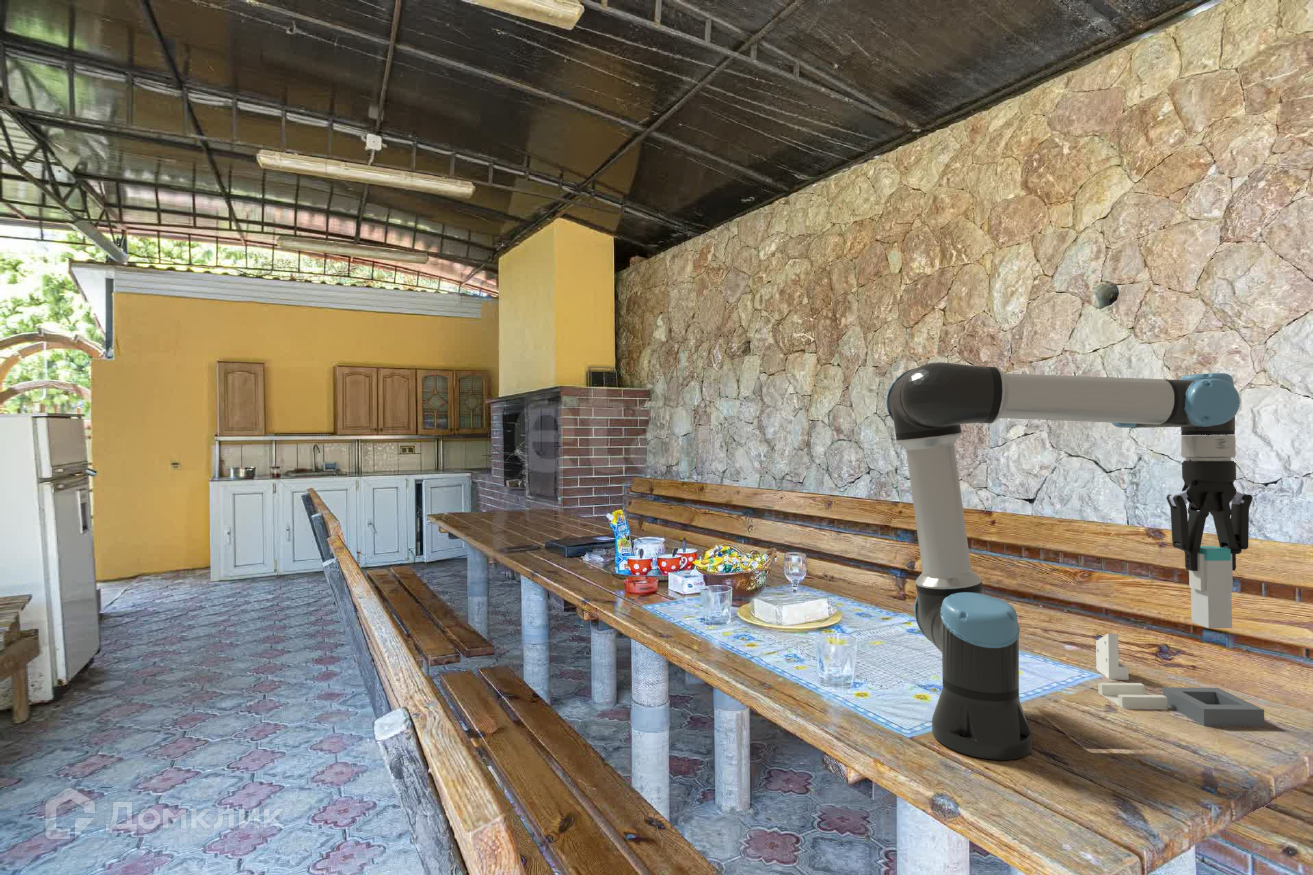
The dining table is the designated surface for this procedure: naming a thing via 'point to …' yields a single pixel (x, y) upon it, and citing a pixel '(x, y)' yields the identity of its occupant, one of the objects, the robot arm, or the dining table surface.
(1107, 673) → the white l-shaped bracket
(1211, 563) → the plug
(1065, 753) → the dining table surface
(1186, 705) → the block
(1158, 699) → the white low u-shaped block
